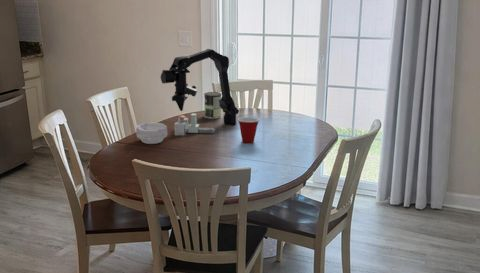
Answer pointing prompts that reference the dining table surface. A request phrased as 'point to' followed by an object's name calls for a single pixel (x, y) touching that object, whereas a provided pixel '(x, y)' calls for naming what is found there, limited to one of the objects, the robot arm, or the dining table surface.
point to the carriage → (193, 124)
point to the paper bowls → (151, 132)
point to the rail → (205, 130)
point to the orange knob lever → (181, 118)
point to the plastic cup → (248, 129)
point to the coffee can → (212, 105)
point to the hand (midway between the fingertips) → (181, 110)
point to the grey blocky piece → (181, 127)
